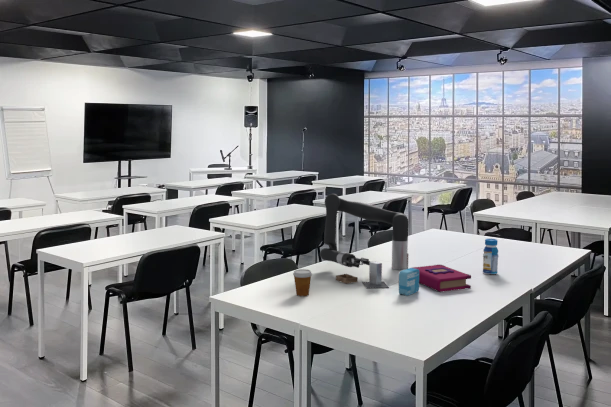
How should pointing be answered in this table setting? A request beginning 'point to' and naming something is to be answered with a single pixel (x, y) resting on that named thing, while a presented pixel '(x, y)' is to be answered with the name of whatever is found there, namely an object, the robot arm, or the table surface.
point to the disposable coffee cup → (302, 281)
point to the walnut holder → (346, 278)
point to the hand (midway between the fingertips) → (364, 264)
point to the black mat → (375, 286)
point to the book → (442, 278)
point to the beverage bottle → (490, 257)
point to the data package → (408, 281)
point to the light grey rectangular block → (375, 273)
